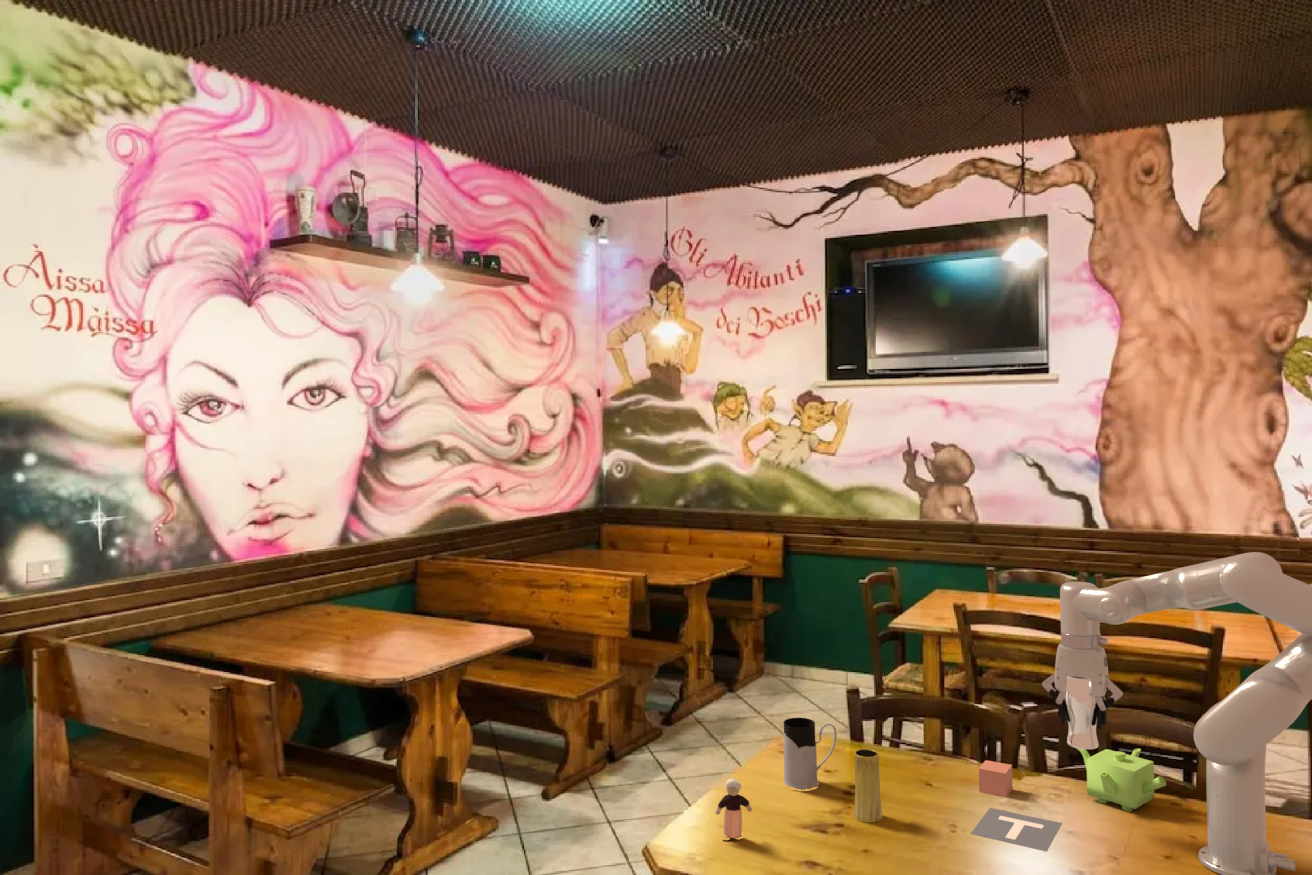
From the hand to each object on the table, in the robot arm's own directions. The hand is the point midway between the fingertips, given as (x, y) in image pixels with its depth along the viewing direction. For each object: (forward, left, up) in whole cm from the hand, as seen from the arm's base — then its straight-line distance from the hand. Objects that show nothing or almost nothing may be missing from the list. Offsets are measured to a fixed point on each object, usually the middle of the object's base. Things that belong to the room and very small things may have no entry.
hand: (1082, 723), depth 193 cm
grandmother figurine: (+60, +44, -22) cm, 78 cm away
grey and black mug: (+59, +9, -22) cm, 64 cm away
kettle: (-5, -17, -22) cm, 28 cm away
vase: (+40, +20, -22) cm, 50 cm away
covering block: (+20, -8, -22) cm, 31 cm away
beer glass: (0, 0, -5) cm, 5 cm away
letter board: (+11, +10, -22) cm, 26 cm away
